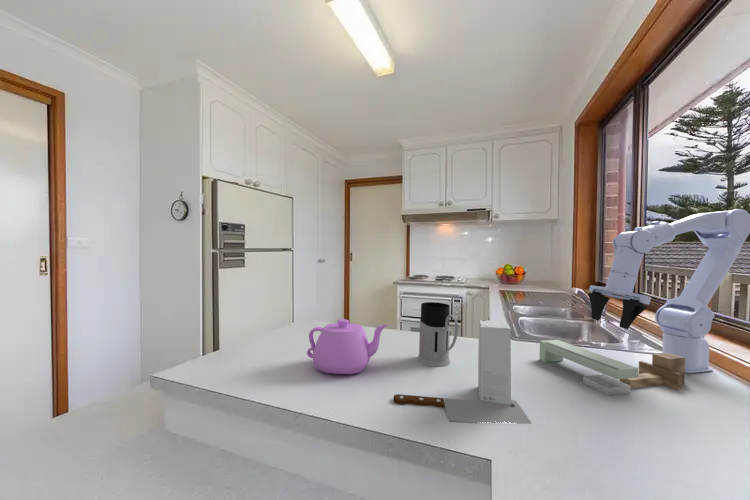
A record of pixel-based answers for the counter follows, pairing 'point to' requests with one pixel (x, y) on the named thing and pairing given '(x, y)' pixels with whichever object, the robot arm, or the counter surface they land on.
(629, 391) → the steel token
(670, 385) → the push stick
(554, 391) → the counter surface
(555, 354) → the drawer pull
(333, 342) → the teapot
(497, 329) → the skincare box
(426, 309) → the glass holder
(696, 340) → the robot arm
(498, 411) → the kitchen cleaver
